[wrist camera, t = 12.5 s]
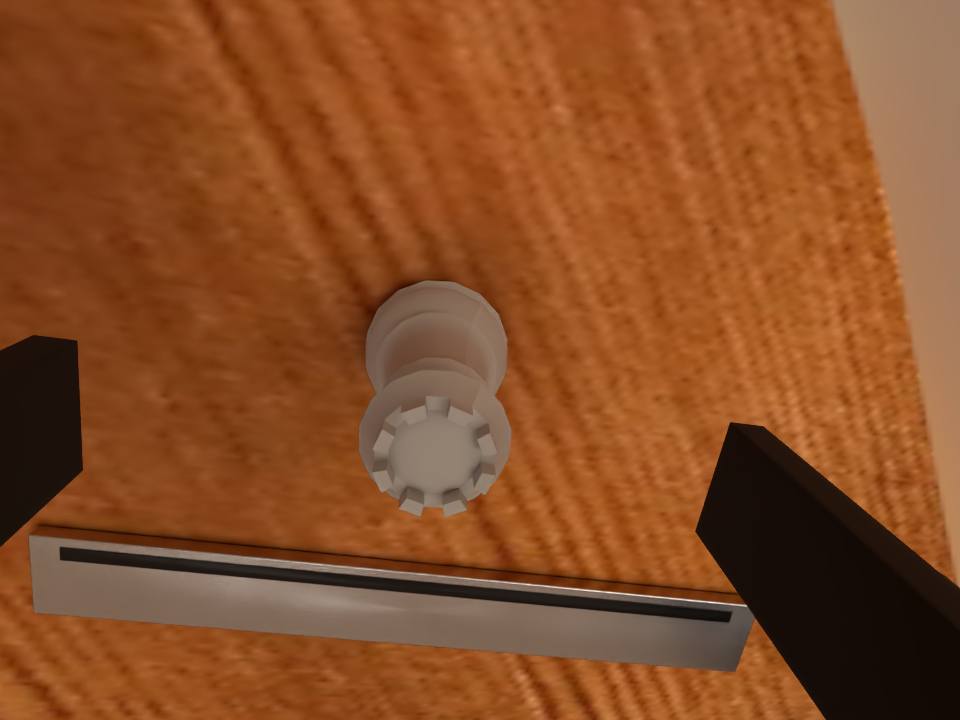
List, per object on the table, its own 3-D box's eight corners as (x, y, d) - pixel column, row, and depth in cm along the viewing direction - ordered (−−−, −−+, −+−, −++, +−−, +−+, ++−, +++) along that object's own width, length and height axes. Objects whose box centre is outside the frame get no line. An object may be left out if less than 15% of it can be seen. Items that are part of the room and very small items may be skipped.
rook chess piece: (421, 247, 19) (408, 310, 11) (533, 331, 20) (591, 439, 12) (339, 359, 20) (276, 486, 12) (451, 433, 21) (458, 593, 13)
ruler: (43, 601, 22) (32, 614, 21) (38, 524, 21) (26, 536, 20) (728, 660, 25) (735, 673, 24) (752, 595, 24) (760, 607, 23)
